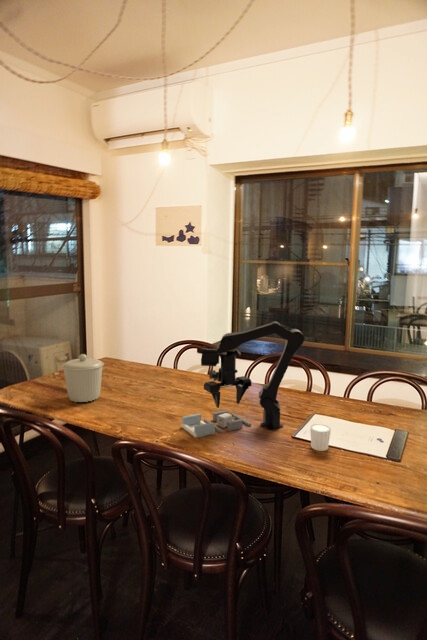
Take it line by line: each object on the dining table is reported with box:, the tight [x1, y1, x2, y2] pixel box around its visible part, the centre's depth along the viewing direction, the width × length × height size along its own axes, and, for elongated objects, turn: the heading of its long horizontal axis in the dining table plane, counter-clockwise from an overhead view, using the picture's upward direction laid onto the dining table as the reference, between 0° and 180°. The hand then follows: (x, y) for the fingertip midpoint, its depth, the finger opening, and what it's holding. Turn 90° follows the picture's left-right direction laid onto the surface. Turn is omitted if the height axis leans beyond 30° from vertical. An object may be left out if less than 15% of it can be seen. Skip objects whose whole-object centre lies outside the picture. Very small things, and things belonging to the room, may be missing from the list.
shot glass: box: [309, 423, 332, 452], centre depth 145 cm, size 7×7×7 cm
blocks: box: [203, 409, 252, 434], centre depth 165 cm, size 12×14×3 cm
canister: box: [61, 353, 105, 403], centre depth 191 cm, size 18×18×21 cm
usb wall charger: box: [216, 412, 236, 428], centre depth 165 cm, size 4×7×4 cm, turn 135°
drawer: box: [181, 413, 216, 439], centre depth 159 cm, size 11×8×4 cm
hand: (227, 405), depth 164 cm, fingers open, 9 cm apart
